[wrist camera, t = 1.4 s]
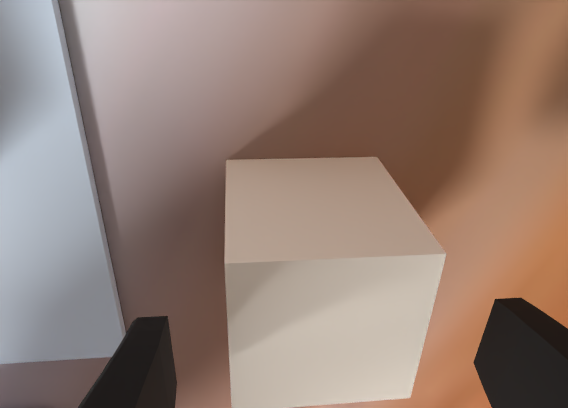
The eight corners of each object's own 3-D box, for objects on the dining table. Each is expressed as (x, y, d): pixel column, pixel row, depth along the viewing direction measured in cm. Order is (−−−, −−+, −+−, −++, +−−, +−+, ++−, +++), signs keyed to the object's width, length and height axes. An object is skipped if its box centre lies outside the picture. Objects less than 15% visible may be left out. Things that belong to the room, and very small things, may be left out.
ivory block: (360, 274, 16) (409, 397, 11) (231, 280, 15) (231, 412, 11) (376, 155, 13) (446, 253, 9) (225, 158, 13) (224, 263, 9)
